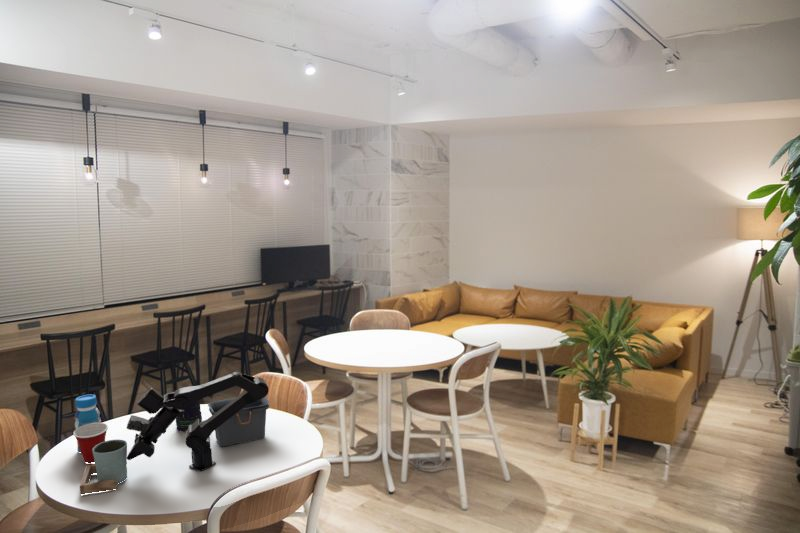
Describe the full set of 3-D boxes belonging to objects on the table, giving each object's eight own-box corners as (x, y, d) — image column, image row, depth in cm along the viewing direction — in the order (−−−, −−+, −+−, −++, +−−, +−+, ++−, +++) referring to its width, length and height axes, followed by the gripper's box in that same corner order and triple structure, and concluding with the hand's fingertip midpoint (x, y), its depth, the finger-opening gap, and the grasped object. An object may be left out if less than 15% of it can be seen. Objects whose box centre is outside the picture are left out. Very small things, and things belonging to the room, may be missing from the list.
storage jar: (175, 425, 240) (172, 389, 238) (200, 420, 244) (198, 385, 242) (177, 433, 231) (174, 396, 229) (203, 429, 235) (201, 392, 233)
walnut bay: (121, 469, 201) (120, 460, 201) (116, 490, 187) (115, 480, 187) (87, 475, 198) (86, 465, 197) (80, 496, 184) (79, 486, 183)
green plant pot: (121, 470, 201) (118, 436, 199) (135, 479, 194) (132, 444, 193) (90, 482, 193) (86, 447, 192) (103, 491, 187) (100, 455, 185)
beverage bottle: (90, 456, 212) (85, 402, 210) (71, 453, 215) (66, 400, 213) (108, 446, 220) (104, 394, 218) (90, 443, 223) (86, 392, 220)
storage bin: (264, 427, 235) (262, 392, 234) (275, 441, 222) (273, 404, 220) (208, 438, 225) (206, 402, 224) (217, 454, 212) (214, 415, 210)
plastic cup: (72, 470, 202) (69, 436, 200) (80, 457, 212) (77, 424, 210) (107, 465, 205) (104, 432, 203) (113, 452, 215) (110, 420, 213)
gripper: (143, 398, 203) (110, 434, 200) (139, 417, 185) (103, 457, 183) (169, 417, 206) (137, 452, 204) (168, 437, 189) (133, 476, 187)
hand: (127, 459), depth 194 cm, fingers closed
